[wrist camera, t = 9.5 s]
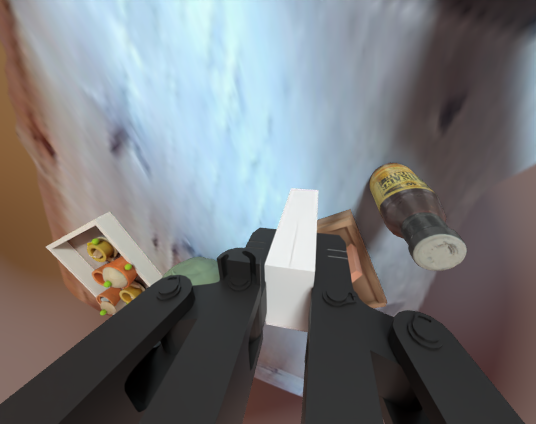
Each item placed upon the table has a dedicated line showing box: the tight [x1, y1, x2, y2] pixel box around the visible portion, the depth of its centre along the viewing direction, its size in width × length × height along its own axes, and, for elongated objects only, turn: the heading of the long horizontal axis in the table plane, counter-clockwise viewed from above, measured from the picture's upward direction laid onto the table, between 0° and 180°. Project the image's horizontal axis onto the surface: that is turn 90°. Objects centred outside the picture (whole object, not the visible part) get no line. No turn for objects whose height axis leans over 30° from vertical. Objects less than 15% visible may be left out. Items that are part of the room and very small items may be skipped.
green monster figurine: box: [161, 257, 220, 286], centre depth 46 cm, size 16×19×20 cm
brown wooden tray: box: [317, 209, 387, 308], centre depth 46 cm, size 22×22×3 cm
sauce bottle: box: [370, 163, 467, 271], centre depth 27 cm, size 6×6×20 cm
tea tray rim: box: [46, 212, 163, 315], centre depth 61 cm, size 23×33×4 cm
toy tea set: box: [87, 237, 145, 315], centre depth 58 cm, size 26×16×10 cm, turn 166°
